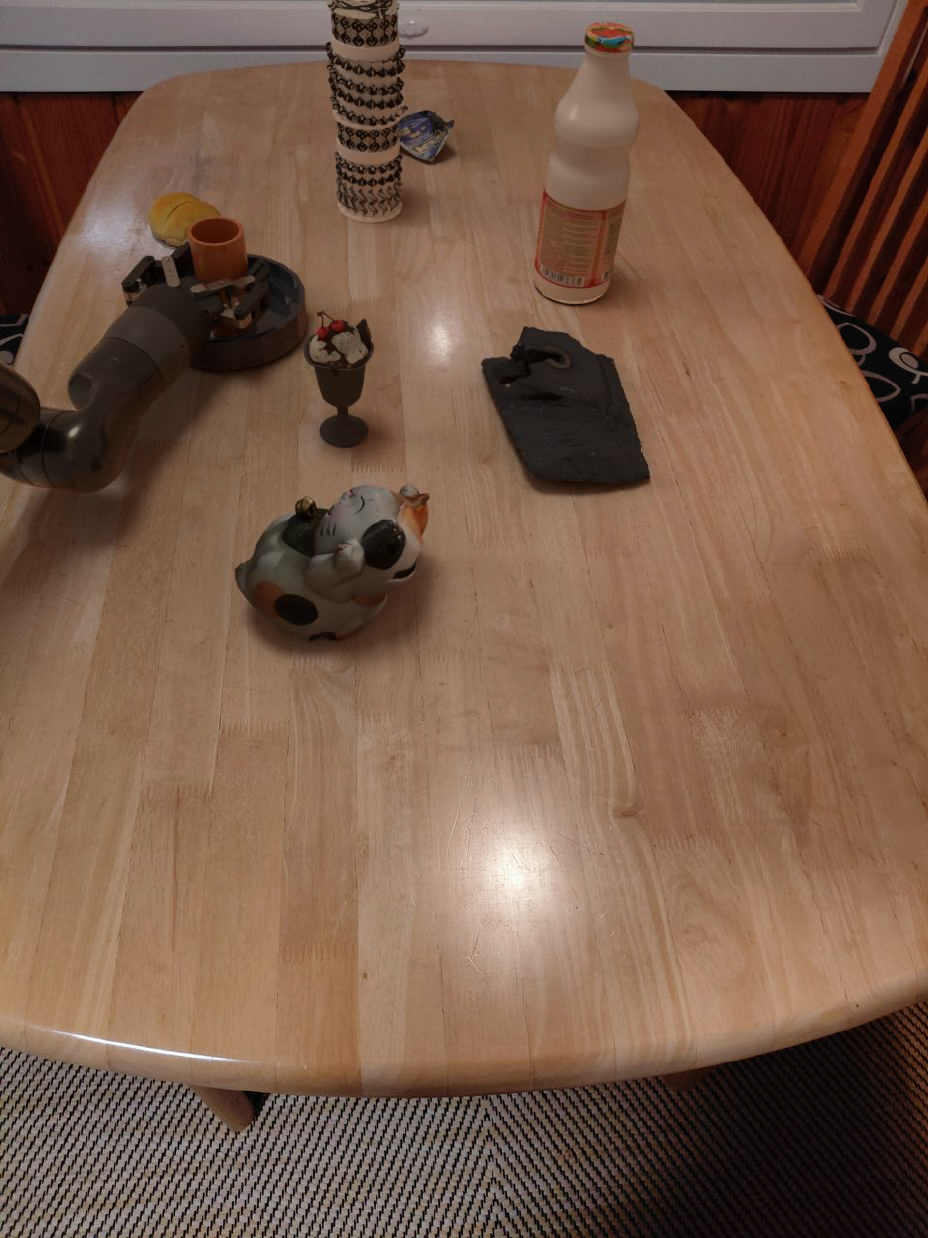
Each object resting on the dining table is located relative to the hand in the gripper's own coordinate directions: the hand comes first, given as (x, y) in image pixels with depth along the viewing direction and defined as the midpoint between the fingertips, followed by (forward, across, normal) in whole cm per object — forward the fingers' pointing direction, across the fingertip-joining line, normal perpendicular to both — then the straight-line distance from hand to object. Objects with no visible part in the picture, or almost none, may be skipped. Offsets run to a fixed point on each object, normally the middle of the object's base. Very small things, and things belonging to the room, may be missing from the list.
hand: (228, 257), depth 101 cm
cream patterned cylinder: (+29, -5, +8) cm, 30 cm away
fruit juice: (+21, -34, +8) cm, 41 cm away
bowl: (-2, 0, +7) cm, 8 cm away
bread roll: (+14, +14, +8) cm, 21 cm away
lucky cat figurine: (-33, -26, +8) cm, 43 cm away
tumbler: (-2, 0, +7) cm, 7 cm away
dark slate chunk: (-4, -39, +8) cm, 40 cm away
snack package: (+47, -4, +8) cm, 48 cm away
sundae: (-14, -19, +8) cm, 24 cm away
